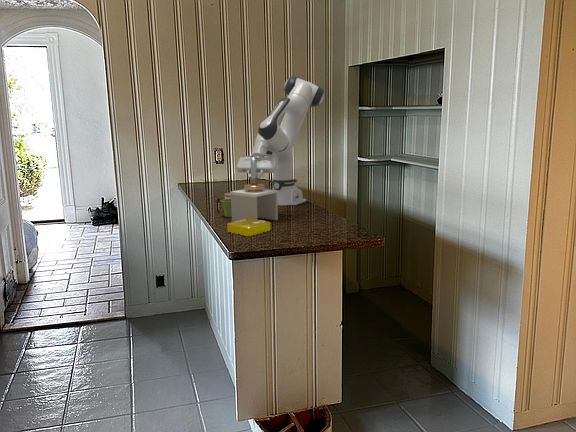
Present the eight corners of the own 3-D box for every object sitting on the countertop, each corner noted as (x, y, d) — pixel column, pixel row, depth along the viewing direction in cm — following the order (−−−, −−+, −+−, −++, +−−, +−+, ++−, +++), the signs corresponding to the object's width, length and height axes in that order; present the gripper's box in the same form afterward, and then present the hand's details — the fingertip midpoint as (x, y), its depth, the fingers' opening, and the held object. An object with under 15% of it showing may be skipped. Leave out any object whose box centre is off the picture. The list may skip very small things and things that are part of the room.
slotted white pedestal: (254, 216, 268) (253, 187, 265) (277, 219, 258) (277, 190, 255) (231, 221, 256) (230, 191, 253) (256, 226, 246) (255, 194, 243)
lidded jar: (240, 209, 287) (240, 192, 285) (222, 208, 289) (221, 192, 287) (246, 205, 297) (245, 189, 295) (228, 205, 299) (227, 189, 297)
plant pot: (222, 218, 263) (222, 201, 261) (220, 215, 272) (219, 198, 270) (241, 217, 266) (240, 200, 264) (237, 214, 274) (237, 197, 273)
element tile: (249, 226, 247) (248, 216, 246) (272, 231, 237) (272, 220, 236) (225, 232, 236) (225, 222, 235) (249, 237, 226) (248, 227, 225)
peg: (259, 207, 262) (258, 156, 257) (268, 211, 254) (267, 157, 249) (241, 210, 257) (239, 157, 252) (250, 213, 249) (248, 158, 244)
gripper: (238, 152, 259) (231, 174, 252) (277, 152, 254) (271, 174, 246) (242, 160, 265) (235, 181, 257) (280, 160, 259) (275, 182, 252)
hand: (253, 178), depth 252 cm, fingers closed on peg, 3 cm apart
